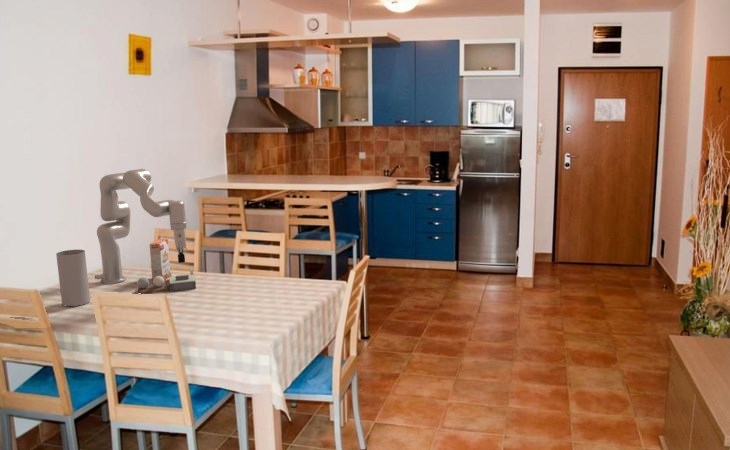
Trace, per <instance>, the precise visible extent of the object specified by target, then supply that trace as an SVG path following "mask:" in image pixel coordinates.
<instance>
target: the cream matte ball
mask: <svg viewBox="0 0 730 450" xmlns="http://www.w3.org/2000/svg"><path fill="white" fill-rule="evenodd" d="M165 281H166V280H164V278H163V277H161V276H156V277H155V278H154V280H153V281H152V285H155V286H156V287H161V286H163V285H164V284H165Z"/></svg>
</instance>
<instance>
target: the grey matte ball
mask: <svg viewBox="0 0 730 450" xmlns="http://www.w3.org/2000/svg"><path fill="white" fill-rule="evenodd" d="M149 285H150V281H149V279H148V278H147V277H140V278H139V279H138V280H137V287H138V286H139V287H140V288H142V289H145V288H147V287H148V286H149Z"/></svg>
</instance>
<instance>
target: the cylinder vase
mask: <svg viewBox="0 0 730 450" xmlns="http://www.w3.org/2000/svg"><path fill="white" fill-rule="evenodd" d="M55 257H56V265H57V272H58V281H59V290H60V298H61V305H62V304H63V305H62V306H64V305H66V306H65V307H68V306H73V307H79V306H78V305H80V306H84V305H86V303H87V304H88V303H90V301H91V296H90V286H89V277H88V276H89V275H88V267H87V259H86V258H87V257H86V250H84V249H67V250H61V251H58V252H57V253H56V256H55ZM83 304H84V305H83Z"/></svg>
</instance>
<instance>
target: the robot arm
mask: <svg viewBox="0 0 730 450" xmlns="http://www.w3.org/2000/svg"><path fill="white" fill-rule="evenodd" d="M151 181H152V176H151V173H150V172H149V171H148V170H147V169H146V168H138V169H130V170H128V171H126V172H120V173H119V172H117V173H110V174H107V175H104V176H103V177H101V179H100V181H99V191H100V217H101V219H102V221H104V223H102V224H100V225H99V226H98V227H97V229H96V235H97V238H98V243H99V248H100V255H101V264H102V273H101V274H95V275H94V279H95V280H100V283H101V284H105V285H106V284H110V285H111V284H112V285H113V284H119V283H123V282H125V281H126V280H127V279H126V276H124V275H123V270H122V259H121V249H120V245H119V244H118V242H117V241H116V240H119V239H120V240H121V239H123V238H127V237H128V236H129V234H130V231H131V208H130V205H129V203H127V202H126V201H124V200H121V201H120V200H119V195H118V193H117V191H121V190H127V189H130V190H132V191H133V192H134V193H135V194H136V195H137V196H138V197H139V201H140V205H141V207H142V209H143V210H144V211H146V212H147V214H149V215H150V216H151V217H154V218H161V217H165V216H169V225H170V230H171V231H173V238H174V245H175V249H176V250H177V262H178V263H179V264H183V263H186V256H185V252H184V250H187V242H186V241H187V240H186V238H187V237H186V229H187V220H186V219H187V218H186V208H185V203H184V201H183V200H173V199H166V200H165V199H164V200H160V201H159V200H158V201H154V200H153V199H152V198H151V196H152V195H153V193H154V191H155V187H154V185H153V184H151ZM105 222H106V223H105Z"/></svg>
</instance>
